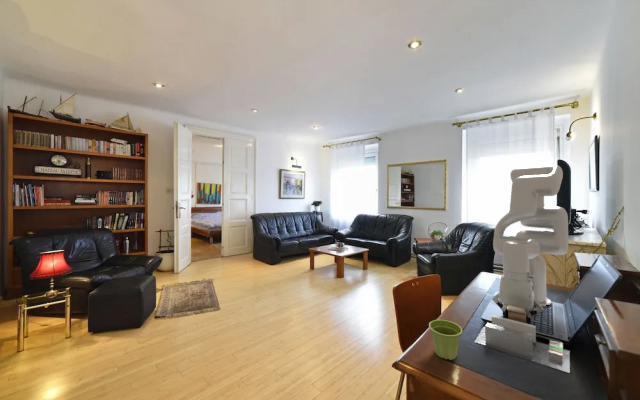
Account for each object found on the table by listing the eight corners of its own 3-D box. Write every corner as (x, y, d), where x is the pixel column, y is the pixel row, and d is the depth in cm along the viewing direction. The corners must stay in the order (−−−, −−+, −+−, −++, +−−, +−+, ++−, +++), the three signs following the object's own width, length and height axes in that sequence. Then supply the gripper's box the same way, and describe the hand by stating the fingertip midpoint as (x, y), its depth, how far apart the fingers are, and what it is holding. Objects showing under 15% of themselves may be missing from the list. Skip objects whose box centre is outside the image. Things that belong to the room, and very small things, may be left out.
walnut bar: (508, 316, 102) (507, 303, 102) (524, 319, 99) (524, 306, 99) (508, 330, 92) (508, 316, 92) (526, 334, 89) (526, 320, 89)
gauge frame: (483, 327, 96) (483, 310, 96) (569, 351, 80) (569, 331, 80) (474, 342, 87) (474, 324, 87) (569, 373, 71) (569, 351, 71)
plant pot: (470, 361, 77) (469, 332, 77) (441, 366, 76) (440, 337, 76) (449, 343, 87) (448, 318, 86) (423, 347, 85) (422, 321, 85)
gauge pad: (492, 328, 94) (492, 315, 94) (560, 347, 81) (560, 332, 81) (492, 330, 93) (491, 316, 93) (560, 350, 80) (560, 334, 80)
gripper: (547, 276, 91) (548, 327, 92) (490, 268, 103) (491, 313, 104) (546, 282, 86) (547, 336, 87) (486, 273, 98) (487, 320, 99)
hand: (516, 323), depth 95 cm, fingers closed on walnut bar, 5 cm apart
